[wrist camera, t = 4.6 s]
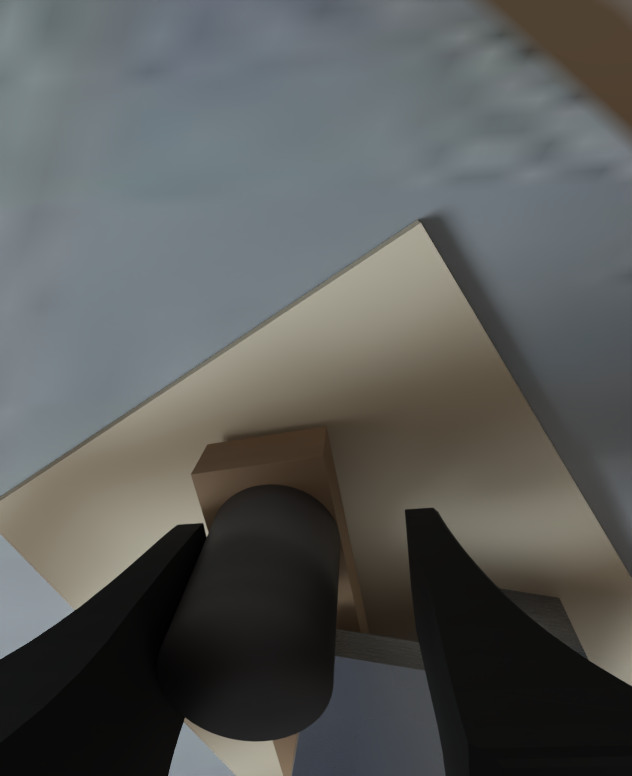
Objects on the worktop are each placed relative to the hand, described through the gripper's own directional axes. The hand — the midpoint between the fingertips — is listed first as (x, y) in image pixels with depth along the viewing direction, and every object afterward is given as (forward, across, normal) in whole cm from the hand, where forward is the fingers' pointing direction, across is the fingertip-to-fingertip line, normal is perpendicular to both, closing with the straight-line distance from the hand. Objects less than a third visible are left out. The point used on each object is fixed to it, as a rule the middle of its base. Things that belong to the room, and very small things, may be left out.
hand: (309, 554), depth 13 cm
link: (+2, 0, +7) cm, 7 cm away
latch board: (+3, -1, +5) cm, 6 cm away
